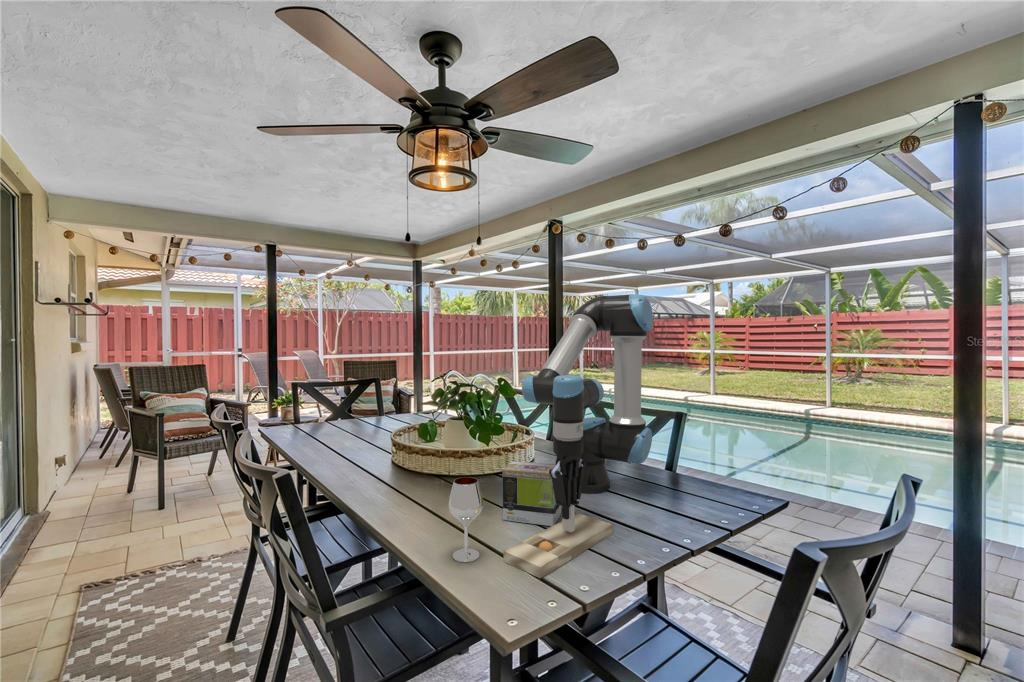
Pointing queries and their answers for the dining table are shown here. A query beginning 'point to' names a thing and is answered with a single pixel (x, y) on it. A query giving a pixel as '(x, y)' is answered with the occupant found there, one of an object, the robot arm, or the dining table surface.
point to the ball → (546, 546)
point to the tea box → (529, 493)
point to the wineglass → (465, 511)
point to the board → (556, 545)
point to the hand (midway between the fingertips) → (568, 529)
